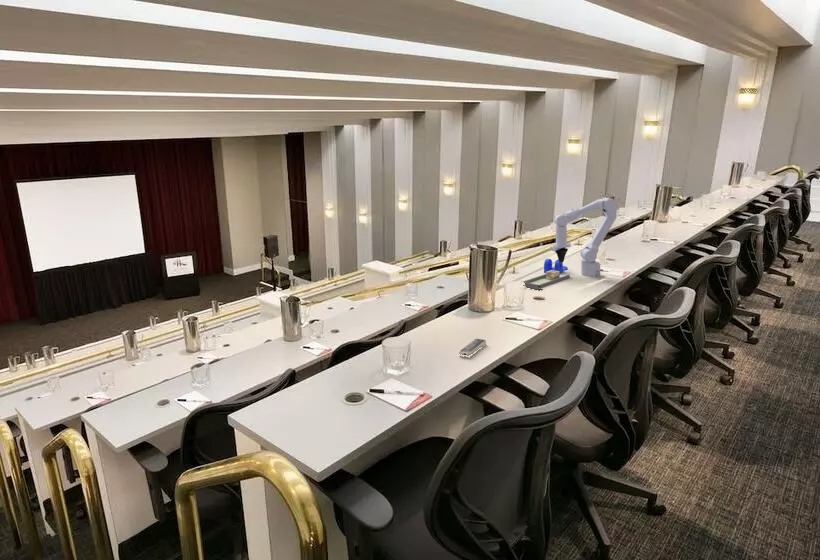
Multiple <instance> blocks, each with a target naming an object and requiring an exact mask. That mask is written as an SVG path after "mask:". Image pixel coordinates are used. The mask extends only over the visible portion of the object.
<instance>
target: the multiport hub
mask: <svg viewBox="0 0 820 560" xmlns="http://www.w3.org/2000/svg"><path fill="white" fill-rule="evenodd" d="M485 344H486V345H487V339H482V338H474V339H473V340H472V341H471V342H470V343H468V344H467V345H465V346H464V347H463V348H461V349H460V350H459V351H458V353H459V354H460V355H461V354H462V355H467V356H469V355H471V354H473V353H474V352H475V351H477V350H478V349H479V348H481V347H482V346H484V345H485ZM486 345H485V346H486ZM485 346H484V347H485Z"/></svg>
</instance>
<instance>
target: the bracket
mask: <svg viewBox="0 0 820 560" xmlns="http://www.w3.org/2000/svg"><path fill="white" fill-rule="evenodd" d="M563 263H564V262H559V260H558V259H556V260H555V262H554V266H553V259H551V258H546V259H545V260H544V263H543V273H544V274H546V272H547V271H550V270H555V271H560V274H561V273H562V272H564V271H567V270H568V266H566V265H564V264H563Z"/></svg>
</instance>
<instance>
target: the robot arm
mask: <svg viewBox="0 0 820 560" xmlns="http://www.w3.org/2000/svg"><path fill="white" fill-rule="evenodd" d="M617 209H618V204H617V201H616V200H615V199H613V198H609V197H608V196H607V197H605V196H603V197H602V198H598V199H596V200H594V201H593V202H590V203H589V204H586V205H584V206H582V207H580V208H574V207H572V208H570V210H568V211H566V212H562V214H558V215H556V217H555V219H554V221H553V222H554V224H555V244H554V245H553V246H552V247H551V251H552V252H555V253H556V255H557V260H559V262H563V263H564V261H565V258H566V255H567V252H568V250H569V248H570V247H571V245H572V244H571V242H568V239H567V237H568V235H567V234H568V233H567V231H568V227H567V225H568V224H570V223H572V222H574V221H576V220H578V219H580V218H581V216H582V215H583V214H587V213H588V212H591V211H594V210H602V211H603V213H604V216H605V217H604V218H603V220H602V221H601V224H600V225H599V226H598V228H597V230H596V232H595V233H594V235H593V237H592V238H591V240H590V242H588V244H586V246H585V247H583V248H582V249H581V251H580V257H581V262H580V263H581V266H580V267H581V269H580V271H581V272H580V273H581V275H582V276H585V277H592V278H595V277H599V276H601V263H600V262H597V261H596V259H597V256H598V253H599V247H600V246H601V244H602V242H603V240H604V239H605V238H606V236H607V235H608V233H609V231H610V229H611V228H612V226H613V224H614V222H615V221H616V219H617V218H618V217H617V213H618V211H617Z"/></svg>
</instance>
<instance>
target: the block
mask: <svg viewBox="0 0 820 560" xmlns="http://www.w3.org/2000/svg"><path fill="white" fill-rule="evenodd" d="M545 274H546V279H549V280H554V279H557V278H560V276H561V275H560V274H561V273H560V271H555V270H550V271H547V272H546V273H545Z"/></svg>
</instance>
